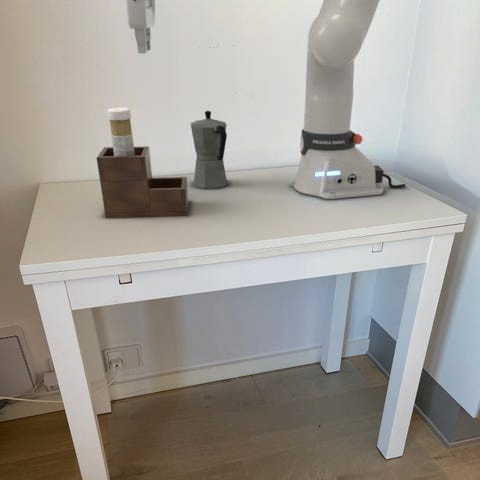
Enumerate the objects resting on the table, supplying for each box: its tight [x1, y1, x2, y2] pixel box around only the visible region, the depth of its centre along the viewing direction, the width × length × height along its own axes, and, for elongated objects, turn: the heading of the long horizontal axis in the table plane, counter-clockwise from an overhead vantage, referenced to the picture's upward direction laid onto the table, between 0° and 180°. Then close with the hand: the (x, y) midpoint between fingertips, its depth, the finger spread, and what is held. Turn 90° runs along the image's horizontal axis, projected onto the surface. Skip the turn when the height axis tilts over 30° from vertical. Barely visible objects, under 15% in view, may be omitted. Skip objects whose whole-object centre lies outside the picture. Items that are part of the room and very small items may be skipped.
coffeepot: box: [190, 110, 228, 190], centre depth 125 cm, size 15×9×18 cm, turn 29°
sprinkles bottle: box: [107, 107, 135, 156], centre depth 106 cm, size 5×5×14 cm
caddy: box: [96, 145, 189, 219], centre depth 111 cm, size 18×10×13 cm, turn 94°
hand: (144, 51), depth 110 cm, fingers open, 8 cm apart
